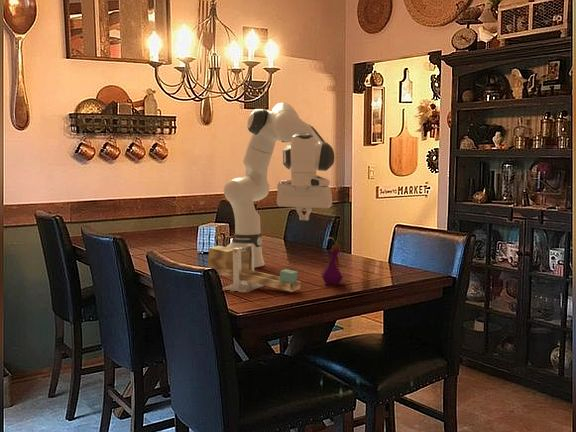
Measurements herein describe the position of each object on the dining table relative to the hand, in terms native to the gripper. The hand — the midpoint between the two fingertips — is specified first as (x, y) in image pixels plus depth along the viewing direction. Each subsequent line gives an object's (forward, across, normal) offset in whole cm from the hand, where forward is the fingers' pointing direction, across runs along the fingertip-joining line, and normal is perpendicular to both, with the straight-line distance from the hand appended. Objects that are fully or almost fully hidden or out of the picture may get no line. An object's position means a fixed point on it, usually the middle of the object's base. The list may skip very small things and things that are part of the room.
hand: (304, 220), depth 230 cm
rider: (+24, -7, 0) cm, 24 cm away
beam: (+23, -21, 0) cm, 31 cm away
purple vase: (+26, +2, +19) cm, 33 cm away
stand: (+26, -25, 0) cm, 36 cm away
